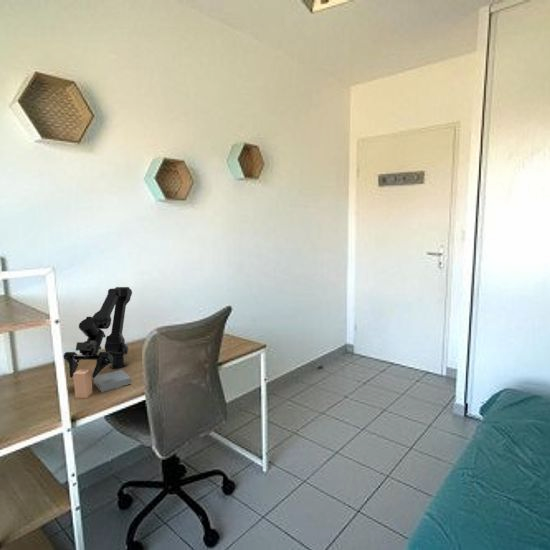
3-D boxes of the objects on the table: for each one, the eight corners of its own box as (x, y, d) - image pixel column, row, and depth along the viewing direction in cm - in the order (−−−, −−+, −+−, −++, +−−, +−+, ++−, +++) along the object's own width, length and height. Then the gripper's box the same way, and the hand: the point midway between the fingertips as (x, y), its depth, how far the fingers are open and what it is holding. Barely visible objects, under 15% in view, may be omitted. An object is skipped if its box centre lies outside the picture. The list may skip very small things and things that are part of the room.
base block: (94, 382, 167) (93, 376, 167) (122, 375, 174) (122, 369, 174) (101, 392, 158) (100, 385, 157) (131, 384, 165) (130, 377, 164)
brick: (75, 397, 154) (73, 373, 152) (81, 392, 158) (79, 369, 157) (86, 397, 153) (84, 373, 152) (92, 392, 158) (90, 369, 156)
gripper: (63, 333, 158) (49, 369, 148) (108, 333, 157) (96, 369, 147) (75, 345, 167) (62, 380, 157) (118, 345, 166) (107, 380, 156)
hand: (82, 377), depth 154 cm, fingers open, 9 cm apart
